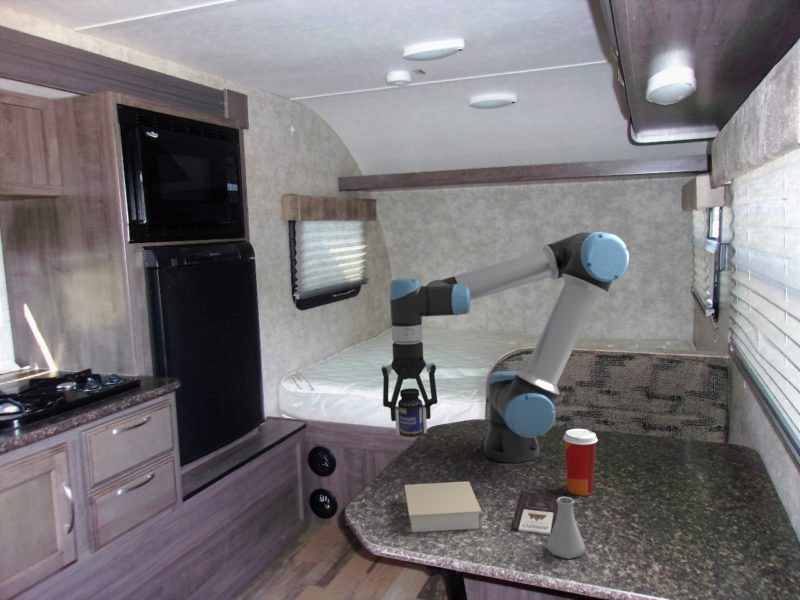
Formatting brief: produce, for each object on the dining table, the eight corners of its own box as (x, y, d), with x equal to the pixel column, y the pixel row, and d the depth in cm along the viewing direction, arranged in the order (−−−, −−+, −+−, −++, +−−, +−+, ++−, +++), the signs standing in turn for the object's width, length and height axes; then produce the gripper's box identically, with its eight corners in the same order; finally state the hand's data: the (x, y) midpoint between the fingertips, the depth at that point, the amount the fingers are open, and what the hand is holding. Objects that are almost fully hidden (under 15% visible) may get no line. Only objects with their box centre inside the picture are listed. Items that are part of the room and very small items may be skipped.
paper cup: (584, 481, 145) (584, 426, 143) (604, 494, 138) (604, 436, 136) (556, 487, 143) (556, 430, 141) (575, 500, 135) (575, 440, 134)
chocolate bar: (562, 496, 137) (557, 533, 120) (561, 499, 137) (557, 538, 120) (522, 491, 139) (512, 528, 122) (522, 495, 140) (512, 532, 123)
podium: (469, 497, 138) (468, 481, 138) (481, 529, 123) (481, 511, 123) (405, 501, 137) (404, 484, 137) (409, 533, 122) (409, 515, 122)
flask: (562, 536, 120) (562, 488, 119) (593, 550, 114) (593, 500, 113) (538, 548, 115) (538, 499, 114) (569, 564, 110) (569, 512, 109)
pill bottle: (396, 437, 147) (394, 393, 145) (402, 429, 152) (400, 387, 151) (420, 438, 145) (418, 394, 144) (426, 429, 151) (424, 387, 150)
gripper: (368, 346, 142) (373, 439, 144) (448, 342, 143) (451, 434, 145) (368, 340, 149) (373, 429, 152) (443, 336, 150) (447, 425, 153)
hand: (411, 432), depth 149 cm, fingers closed on pill bottle, 6 cm apart
